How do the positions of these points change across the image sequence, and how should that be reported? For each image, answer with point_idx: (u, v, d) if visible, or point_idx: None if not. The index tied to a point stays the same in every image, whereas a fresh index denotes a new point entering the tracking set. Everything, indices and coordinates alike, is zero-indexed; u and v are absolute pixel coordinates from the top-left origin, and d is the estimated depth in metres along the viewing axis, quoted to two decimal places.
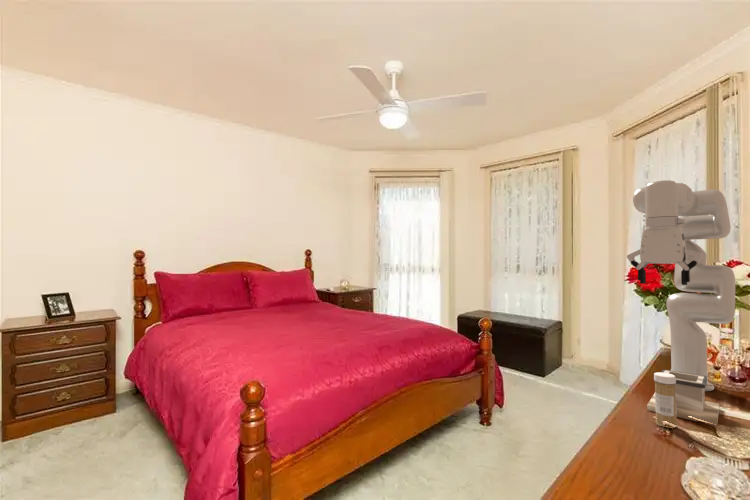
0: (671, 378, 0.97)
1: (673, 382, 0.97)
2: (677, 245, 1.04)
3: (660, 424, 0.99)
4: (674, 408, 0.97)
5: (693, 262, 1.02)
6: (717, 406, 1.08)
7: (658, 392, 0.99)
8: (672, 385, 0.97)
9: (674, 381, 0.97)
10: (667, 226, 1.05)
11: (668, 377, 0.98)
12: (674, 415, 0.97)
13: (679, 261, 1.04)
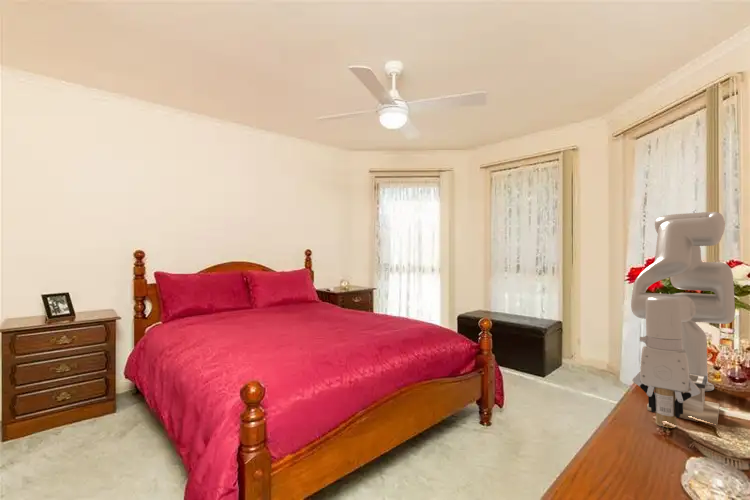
0: None
1: None
2: None
3: (660, 424, 0.99)
4: (674, 408, 0.97)
5: None
6: (717, 406, 1.08)
7: (658, 392, 0.99)
8: None
9: None
10: None
11: None
12: (674, 415, 0.97)
13: None
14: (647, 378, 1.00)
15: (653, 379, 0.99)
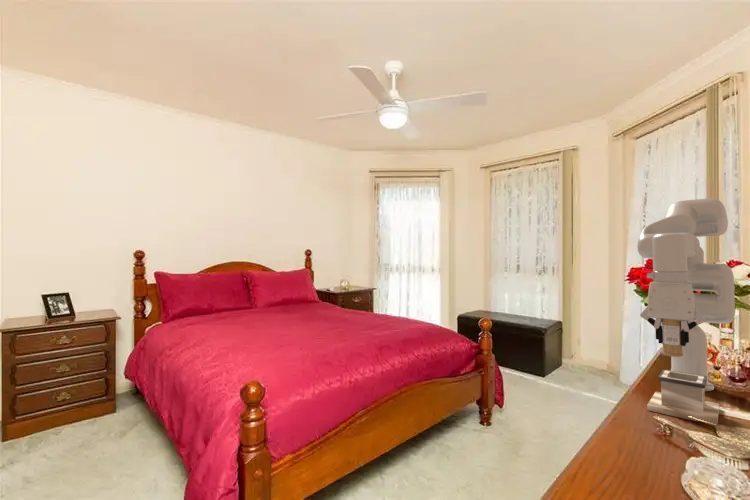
0: None
1: None
2: None
3: (667, 353, 1.04)
4: (680, 337, 1.02)
5: None
6: (717, 406, 1.08)
7: (665, 323, 1.04)
8: None
9: None
10: None
11: None
12: (680, 344, 1.02)
13: None
14: (654, 311, 1.05)
15: (660, 311, 1.04)
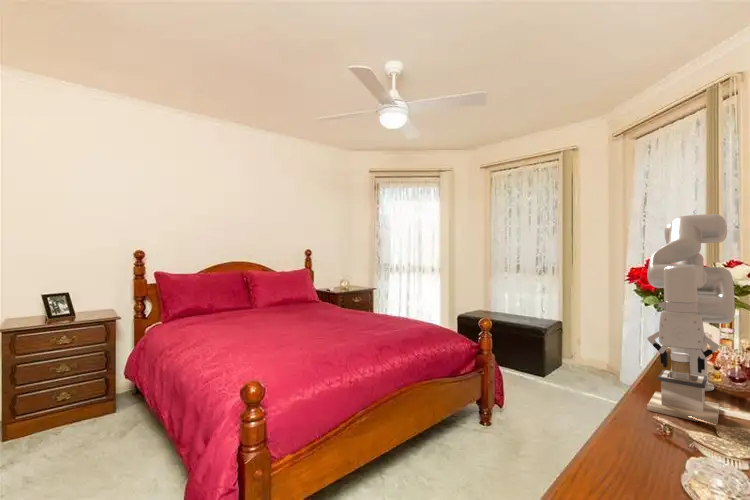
0: (686, 357, 1.08)
1: (688, 360, 1.08)
2: None
3: None
4: None
5: None
6: (717, 406, 1.08)
7: (675, 369, 1.10)
8: (687, 363, 1.08)
9: (689, 359, 1.08)
10: None
11: (683, 356, 1.08)
12: None
13: None
14: (665, 339, 1.10)
15: (671, 340, 1.09)
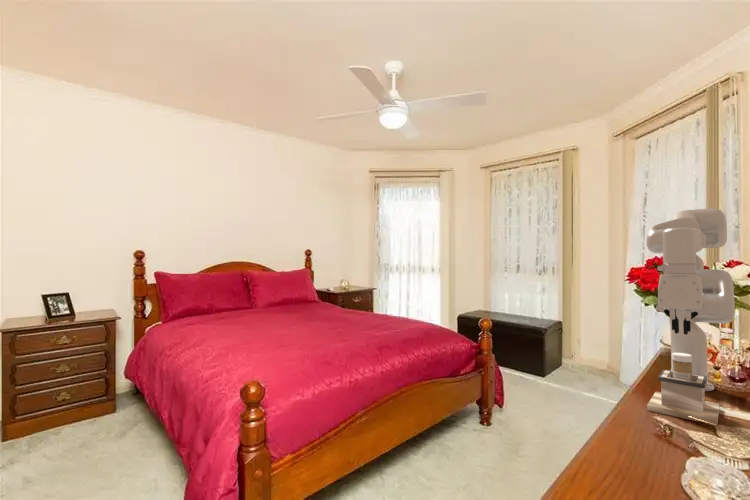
0: (688, 357, 1.08)
1: (690, 361, 1.08)
2: None
3: None
4: None
5: None
6: (717, 406, 1.08)
7: (676, 369, 1.09)
8: (689, 363, 1.08)
9: (691, 360, 1.08)
10: None
11: (685, 356, 1.08)
12: None
13: None
14: (664, 301, 1.10)
15: (670, 301, 1.09)
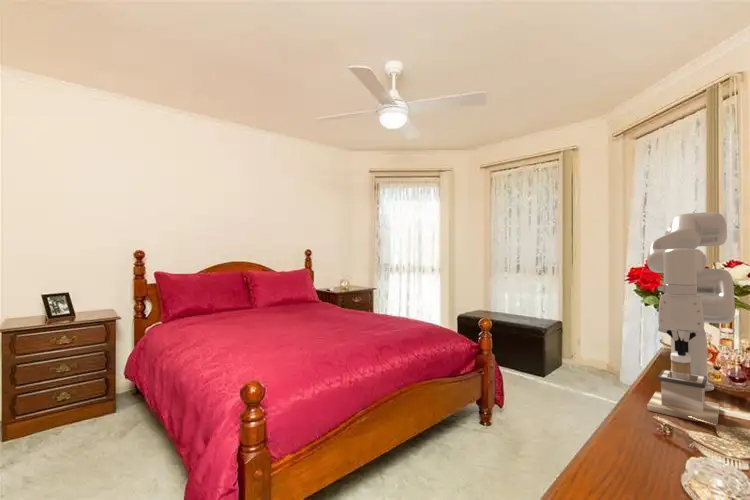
0: (687, 357, 1.07)
1: (688, 361, 1.08)
2: None
3: None
4: None
5: None
6: (717, 406, 1.08)
7: (675, 370, 1.09)
8: (687, 364, 1.08)
9: (689, 360, 1.08)
10: None
11: (684, 356, 1.08)
12: None
13: None
14: (665, 322, 1.10)
15: (670, 322, 1.09)
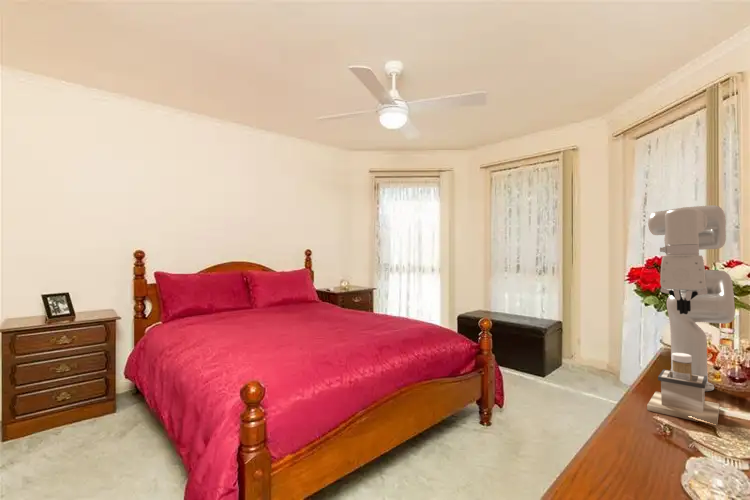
0: (688, 357, 1.08)
1: (690, 361, 1.08)
2: None
3: None
4: None
5: None
6: (717, 406, 1.08)
7: (676, 370, 1.09)
8: (688, 364, 1.08)
9: (690, 360, 1.08)
10: None
11: (685, 356, 1.08)
12: None
13: None
14: (667, 282, 1.11)
15: (672, 282, 1.10)
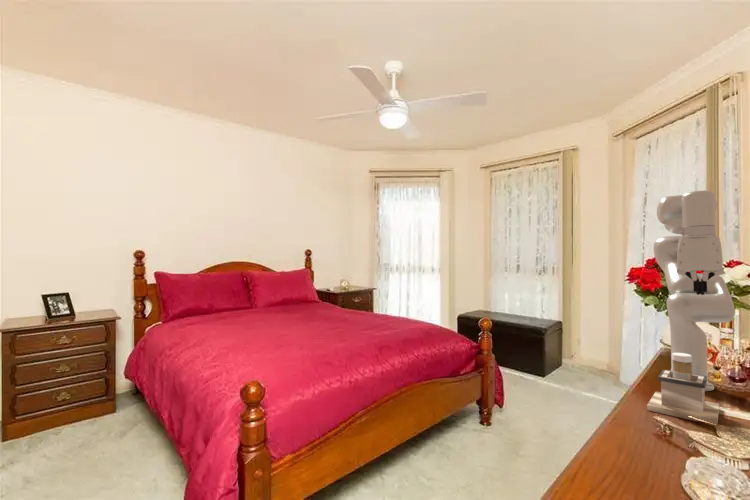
0: (688, 357, 1.08)
1: (690, 361, 1.08)
2: None
3: None
4: None
5: None
6: (717, 406, 1.08)
7: (676, 370, 1.09)
8: (689, 363, 1.08)
9: (691, 360, 1.08)
10: None
11: (685, 356, 1.08)
12: None
13: None
14: (684, 263, 1.13)
15: (689, 263, 1.12)
